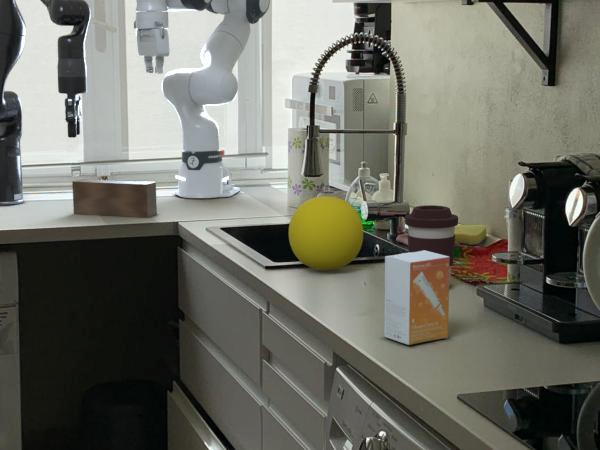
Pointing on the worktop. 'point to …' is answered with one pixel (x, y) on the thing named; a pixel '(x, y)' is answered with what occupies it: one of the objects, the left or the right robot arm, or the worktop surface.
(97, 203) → the bar
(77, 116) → the left robot arm
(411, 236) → the coffee cup
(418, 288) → the small box
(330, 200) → the toy
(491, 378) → the worktop surface
